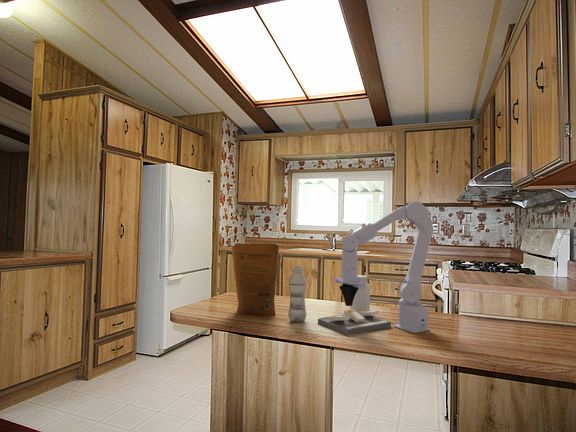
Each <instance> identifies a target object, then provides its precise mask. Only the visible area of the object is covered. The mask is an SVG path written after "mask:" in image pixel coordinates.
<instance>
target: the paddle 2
mask: <svg viewBox="0 0 576 432" xmlns="http://www.w3.org/2000/svg"><path fill="white" fill-rule="evenodd" d="M358 314H360V315H361V316H370V315H374V316H376V315H380V311H379V310H370V311H361V312H358Z"/></svg>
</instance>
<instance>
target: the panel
mask: <svg viewBox="0 0 576 432" xmlns="http://www.w3.org/2000/svg"><path fill="white" fill-rule="evenodd" d="M357 313H358V312H357ZM338 315H339V316H347V315H346V314H344V313H342V314H338ZM329 317H330V315H329V316H324V317H319V318H318V319H317V324H318V325H321V326H322V327H325V328H328V329H330V330H333V331H334V332H335V331H336V332H338V333H341V334H343V335H346V336H352V335H357V334H358V335H359V334H363V333H368V332H373V331H378V330H385V329H389V328H391V327H392V322H391V321H389V320H386V319H382V318H379V317H375V315H370V316H363V317H364V318H365V320H364V321H363V322H357V323H356V322H355V321H354V320H352V319H351V318H350V319H347V320H329Z"/></svg>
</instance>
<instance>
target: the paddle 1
mask: <svg viewBox="0 0 576 432" xmlns="http://www.w3.org/2000/svg"><path fill="white" fill-rule="evenodd" d="M339 315H340V314H336V315H331V316H330V315H329V316H330V317H329V316H328V317H329V320H347V319H350V317H349V315H348V316H339Z"/></svg>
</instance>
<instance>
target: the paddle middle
mask: <svg viewBox="0 0 576 432" xmlns="http://www.w3.org/2000/svg"><path fill="white" fill-rule="evenodd" d="M343 314H346V315H347V316H348V315H349V317H350V318H351V319H352V320H354V321H355V322H356V323H357V322H363V321H364V320H365V318H364V317H363V316H361V315H360V314H358V313H357V312H355V311H354V310H353V309H350V308H348V309H344V311H343Z"/></svg>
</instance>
